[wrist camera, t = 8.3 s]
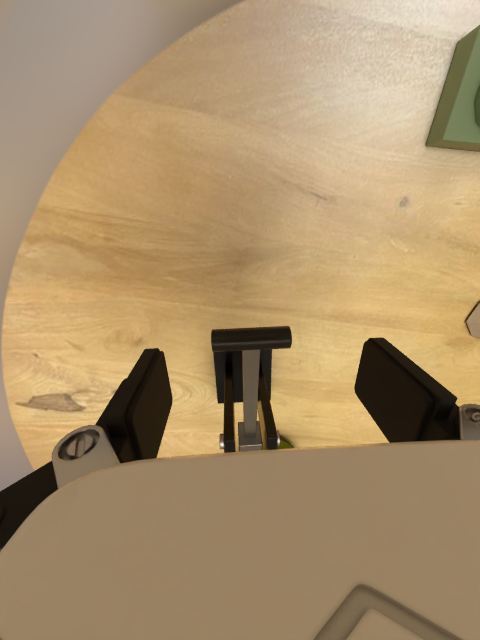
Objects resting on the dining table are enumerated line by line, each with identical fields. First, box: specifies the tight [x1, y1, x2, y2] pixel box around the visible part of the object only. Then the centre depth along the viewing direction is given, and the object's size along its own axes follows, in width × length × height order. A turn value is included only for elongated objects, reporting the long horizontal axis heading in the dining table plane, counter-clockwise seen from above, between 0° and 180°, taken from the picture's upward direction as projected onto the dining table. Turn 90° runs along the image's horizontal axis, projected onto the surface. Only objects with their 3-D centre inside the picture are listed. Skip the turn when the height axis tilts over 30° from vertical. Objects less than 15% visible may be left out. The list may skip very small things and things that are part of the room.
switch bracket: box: [213, 349, 280, 453], centre depth 29 cm, size 10×8×14 cm
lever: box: [211, 326, 292, 452], centre depth 20 cm, size 16×5×2 cm, turn 2°
